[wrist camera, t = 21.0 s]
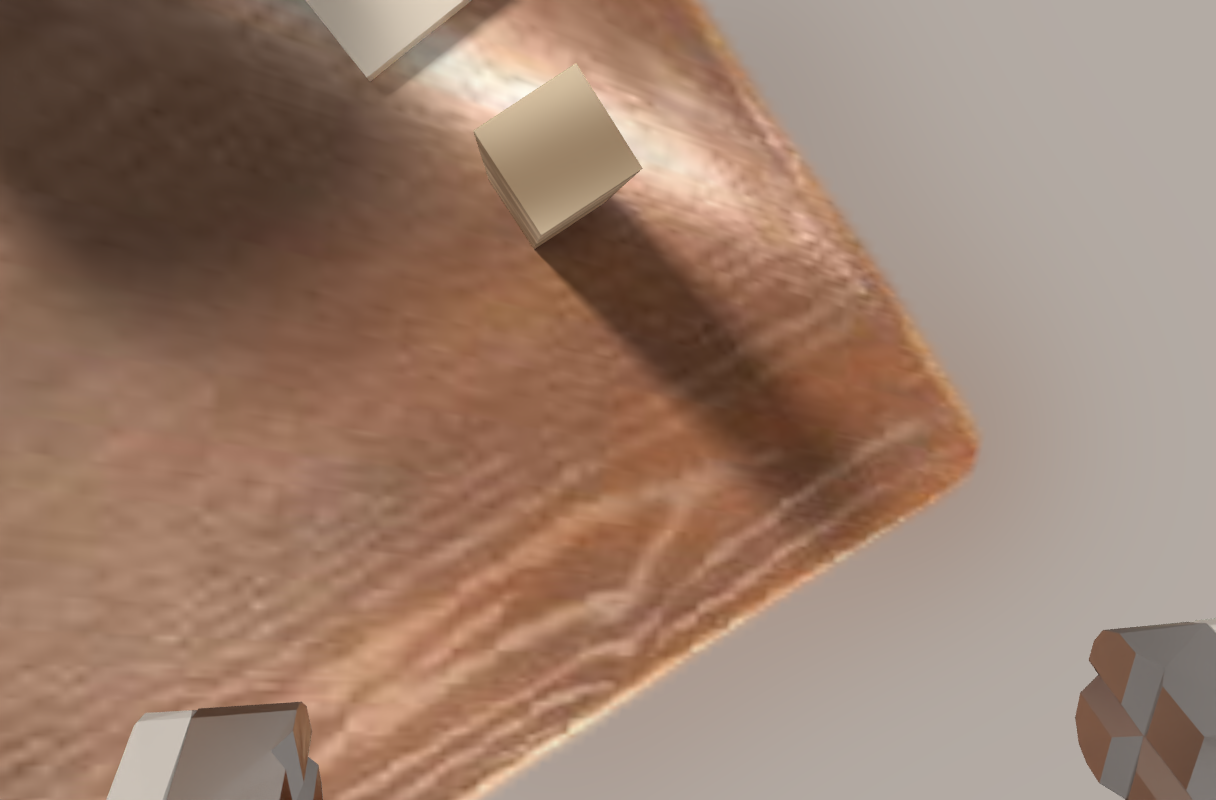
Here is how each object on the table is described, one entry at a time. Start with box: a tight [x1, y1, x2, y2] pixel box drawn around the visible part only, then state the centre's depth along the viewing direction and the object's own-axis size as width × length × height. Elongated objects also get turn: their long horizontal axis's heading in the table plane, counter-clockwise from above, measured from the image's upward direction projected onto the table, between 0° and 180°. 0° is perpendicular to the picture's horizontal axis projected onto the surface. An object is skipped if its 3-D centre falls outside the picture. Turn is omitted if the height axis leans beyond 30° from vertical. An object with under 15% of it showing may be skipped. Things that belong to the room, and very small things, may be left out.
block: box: [474, 63, 643, 249], centre depth 40 cm, size 4×4×16 cm
